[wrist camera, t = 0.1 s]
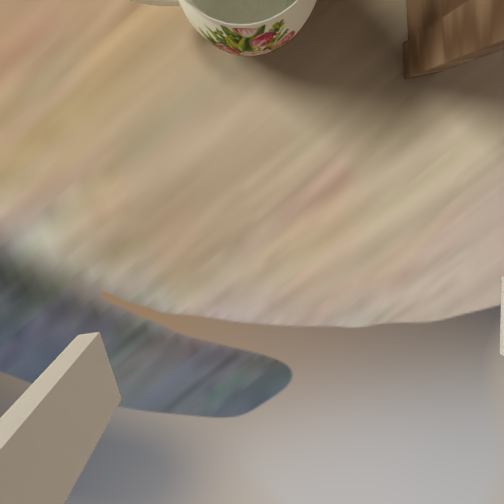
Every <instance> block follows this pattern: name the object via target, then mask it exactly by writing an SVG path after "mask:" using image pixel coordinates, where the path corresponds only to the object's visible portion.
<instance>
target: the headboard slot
mask: <svg viewBox="0 0 504 504" xmlns="http://www.w3.org/2000/svg"><path fill="white" fill-rule="evenodd" d="M406 2H407V22H408V41H406V42H405V43H403V55H404V74H405V79H407V78H412V77H417V76H422V75H427V74H433V73H438V72H441V71H443V70H446V69H449V68H452V67H455V66H457V65H460V64H463V63H466V62H469V61H471V60H474V59H477V58H480V57H483V56H485V55H488V54H491V53H494V52H497V51H499V50H502V49H504V0H406Z"/></svg>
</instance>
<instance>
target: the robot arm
mask: <svg viewBox="0 0 504 504" xmlns="http://www.w3.org/2000/svg"><path fill="white" fill-rule="evenodd" d="M500 330H501V331H500V353H501V354H502V355H503V356H504V276H502V290H501V329H500ZM120 401H121V396H120V393H119V390H118V387H117V384H116V381H115V378H114V375H113V372H112V369H111V366H110V363H109V360H108V357H107V354H106V350H105V347H104V344H103V341H102V338H101V335H100V332H96V333H89V334H82V335H78V336H77V337H76V338H75V339H74V340H73V341H72V342H71V343H70V344H69V345H68V346H67V347H66V349H65V350H64V351H63V352H62V353H61V354H60V355H59V356H58V357H57V358H56V359H55V360H54V361H53V362H52V363H51V365H50V366H49V367H48V368H47V369H46V370H45V371H44V372H43V373H42V374H41V375H40V376H39V377H38V378H37V380H36V381H35V382H34V383H33V384H32V385H31V386H30V387H29V388H28V389H27V390H26V391H25V392H24V393H23V395H22V396H21V397H20V398H19V399H18V400H17V401H16V402H15V403H14V404H13V405H12V406H11V407H10V408H9V409H8V410H7V412H6V413H5V414H4V415H3V416H2V417H1V418H0V504H64V503H65V501H66V499H67V498H68V495H69V494H70V492H71V490H72V488H73V487H74V485H75V483H76V481H77V479H78V477H79V476H80V474H81V472H82V470H83V468H84V467H85V465H86V463H87V461H88V459H89V457H90V456H91V454H92V452H93V450H94V448H95V446H96V445H97V443H98V441H99V439H100V437H101V435H102V434H103V432H104V430H105V428H106V426H107V425H108V423H109V421H110V419H111V417H112V415H113V414H114V412H115V410H116V408H117V406H118V404H119V403H120Z"/></svg>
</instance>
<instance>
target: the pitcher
mask: <svg viewBox="0 0 504 504" xmlns="http://www.w3.org/2000/svg"><path fill="white" fill-rule="evenodd" d="M131 1H134V2H138V3H143V4H149V5H157V6H181V8H182V10H183V11H184V13H185V15H186V17H187V18H188V20H189V21H190V22H191V24H192V25H193V26H194V28H195V29H196V30H197V31H198V32H199V33H200V34H201V35H202V36H203V37H204V38H205V39H206V40H208V41H209V42H210V43H211V44H213V45H214V46H216V47H218V48H219V49H221V50H224V51H226V52H229V53H232V54H236V55H242V56H256V55H262V54H265V53H268V52H271V51H273V50H275V49H277V48H279V47H281V46H282V45H284V44H285V43H287V42H288V41H289V40H290V39H291V38H292V37H294V36H295V35H296V34H297V32H298V31H299V30H300V29H301V28H302V26H303V25H304V23H305V22H306V20H307V19H308V17H309V16H310V14H311V12H312V10H313V8H314V6H315V3H316V1H317V0H131Z"/></svg>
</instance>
